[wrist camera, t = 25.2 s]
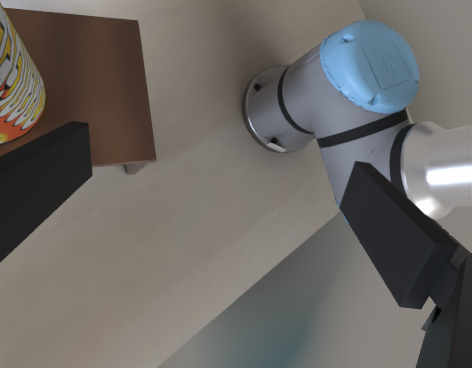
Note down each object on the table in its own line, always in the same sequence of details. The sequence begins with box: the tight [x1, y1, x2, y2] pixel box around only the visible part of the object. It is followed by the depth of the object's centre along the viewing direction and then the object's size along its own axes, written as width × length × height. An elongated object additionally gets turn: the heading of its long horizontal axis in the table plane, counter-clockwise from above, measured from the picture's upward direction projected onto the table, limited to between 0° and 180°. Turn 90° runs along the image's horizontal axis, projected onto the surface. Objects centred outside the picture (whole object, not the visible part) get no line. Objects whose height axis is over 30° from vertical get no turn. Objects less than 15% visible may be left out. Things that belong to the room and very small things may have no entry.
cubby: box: [0, 8, 156, 175], centre depth 31 cm, size 25×13×18 cm, turn 97°
